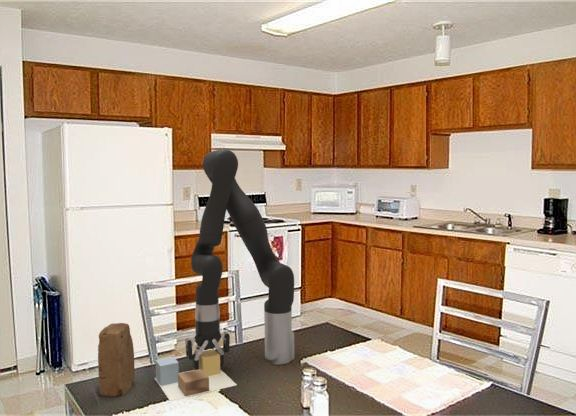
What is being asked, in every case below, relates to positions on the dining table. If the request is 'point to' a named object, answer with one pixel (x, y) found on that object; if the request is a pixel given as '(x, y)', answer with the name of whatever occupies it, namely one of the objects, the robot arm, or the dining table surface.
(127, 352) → the block
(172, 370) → the brick blue
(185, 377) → the base block
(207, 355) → the brick ochre
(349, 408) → the dining table surface
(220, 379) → the board
